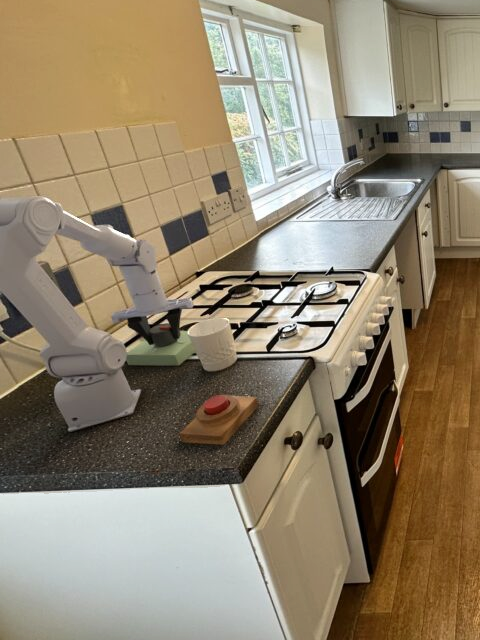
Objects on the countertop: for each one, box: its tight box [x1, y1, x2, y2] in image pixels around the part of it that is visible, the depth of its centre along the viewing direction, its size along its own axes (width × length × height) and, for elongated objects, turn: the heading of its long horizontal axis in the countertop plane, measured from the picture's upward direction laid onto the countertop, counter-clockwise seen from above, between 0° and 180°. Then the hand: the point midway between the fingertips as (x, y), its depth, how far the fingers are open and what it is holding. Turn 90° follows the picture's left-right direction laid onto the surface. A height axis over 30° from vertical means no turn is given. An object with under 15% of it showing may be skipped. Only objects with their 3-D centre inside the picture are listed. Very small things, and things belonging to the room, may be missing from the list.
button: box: [203, 394, 229, 415], centre depth 78 cm, size 4×4×2 cm
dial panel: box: [125, 330, 196, 366], centre depth 100 cm, size 12×10×3 cm
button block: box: [179, 394, 260, 446], centre depth 79 cm, size 10×8×4 cm
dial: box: [149, 322, 177, 347], centre depth 98 cm, size 4×4×4 cm
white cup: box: [186, 317, 238, 372], centre depth 95 cm, size 8×8×10 cm
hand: (165, 339), depth 99 cm, fingers closed on dial, 4 cm apart
